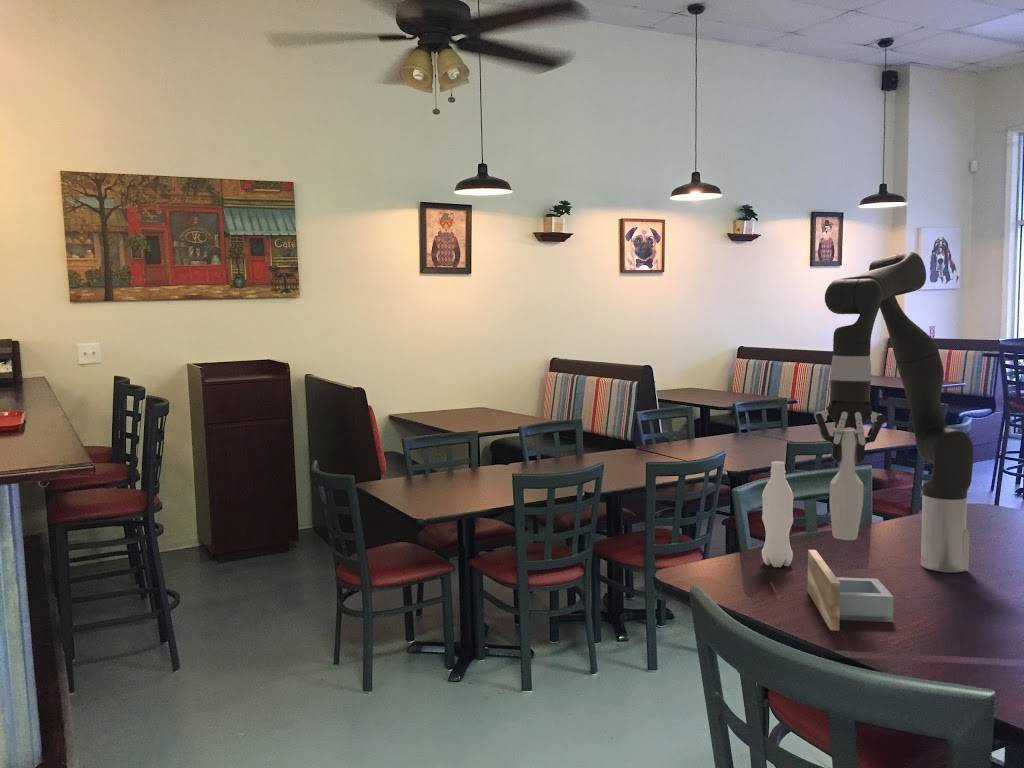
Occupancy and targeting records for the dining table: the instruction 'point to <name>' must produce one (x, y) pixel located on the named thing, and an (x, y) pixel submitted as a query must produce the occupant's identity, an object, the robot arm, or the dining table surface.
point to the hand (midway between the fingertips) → (847, 461)
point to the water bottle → (777, 517)
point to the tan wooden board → (824, 589)
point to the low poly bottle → (846, 492)
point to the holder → (865, 600)
